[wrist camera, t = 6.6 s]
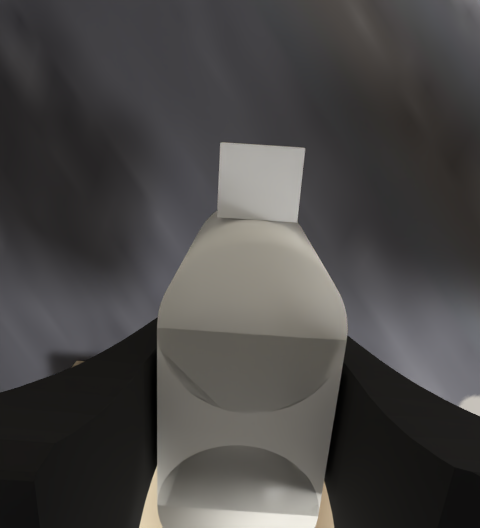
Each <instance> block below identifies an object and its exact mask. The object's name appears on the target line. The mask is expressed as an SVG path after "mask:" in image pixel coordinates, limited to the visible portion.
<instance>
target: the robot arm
mask: <svg viewBox="0 0 480 528" xmlns="http://www.w3.org/2000/svg"><path fill="white" fill-rule="evenodd" d="M157 321H158V318H156V319H155V320H153V321H151V322H150V323H148V324H147V325H145V326H144V327H143V328H141V329H139V330H138V331H136V332H135V333H133V334H132V335H130V336H129V337H127V338H126V339H124V340H122V341H121V342H119V343H117V344H116V345H114V346H112V347H110V348H109V349H107V350H105V351H103V352H102V353H100V354H98V355H96V356H94V357H92V358H90V359H88V360H86V361H84V362H82V363H80V364H78V365H76V366H73V367H71V368H69V369H67V370H64V371H62V372H60V373H57V374H55V375H52V376H49V377H46V378H43V379H41V380H38V381H35V382H32V383H29V384H26V385H24V386H21V387H18V388H15V389H11V390H8V391H4V392H1V393H0V528H139V526H140V522H141V518H142V513H143V509H144V505H145V501H146V498H147V494H148V491H149V488H150V484H151V481H152V478H153V475H154V473H155V470H156V467H157ZM324 482H325V485H326V489H327V493H328V497H329V502H330V506H331V511H332V516H333V522H334V528H480V416H478V415H476V414H473V413H471V412H468V411H467V410H464V409H462V408H460V407H458V406H456V405H454V404H452V403H450V402H448V401H446V400H444V399H442V398H440V397H438V396H437V395H435V394H433V393H431V392H429V391H428V390H426V389H424V388H422V387H420V386H419V385H417V384H415V383H414V382H412V381H410V380H409V379H407V378H406V377H404V376H403V375H401V374H400V373H398V372H396V371H395V370H393V369H392V368H390V367H389V366H388V365H386V364H385V363H383V362H382V361H380V360H379V359H378V358H376V357H375V356H374V355H372V354H371V353H370V352H368V351H367V350H366V349H364V348H363V347H362V346H360V345H359V344H358V343H356V342H355V341H354V340H353V339H351V338H350V337H349V336H347V342H346V348H345V354H344V360H343V366H342V373H341V379H340V385H339V391H338V397H337V403H336V410H335V416H334V422H333V428H332V434H331V441H330V447H329V453H328V459H327V465H326V471H325V478H324Z"/></svg>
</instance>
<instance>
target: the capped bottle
mask: <svg viewBox="0 0 480 528" xmlns="http://www.w3.org/2000/svg"><path fill="white" fill-rule="evenodd" d="M304 155H305V148H301V147H288V146H273V145H257V144H242V143H227V142H221V143H220V162H219V185H218V207H217V211H216V212H215V213H214V214H212V215H211V216H210V217H209V218H208V219H207V220H206V222H205V223H204V224H203V226H202V227H201V229H200V231H199V233H198V234H197V236H196V238H195V240H194V242H193V243H192V245H191V247H190V249H189V251H188V252H187V254H186V256H185V258H184V260H183V262H182V263H181V265H180V267H179V269H178V271H177V272H176V274H175V276H174V278H173V280H172V282H171V283H170V285H169V287H168V289H167V291H166V292H165V294H164V297H163V299H162V302H161V305H160V309H159V313H158V321H157V507H158V515H159V519H160V522H161V524H162V527H163V528H315V526H316V523H317V519H318V515H319V508H320V502H321V496H322V490H323V484H324V478H325V471H326V465H327V459H328V453H329V447H330V441H331V434H332V428H333V422H334V416H335V410H336V403H337V397H338V391H339V385H340V379H341V373H342V366H343V360H344V354H345V348H346V342H347V332H348V326H347V315H346V310H345V306H344V303H343V301H342V298H341V295H340V293H339V292H338V290H337V288H336V286H335V284H334V283H333V281H332V279H331V277H330V276H329V274H328V272H327V271H326V269H325V267H324V265H323V264H322V262H321V260H320V259H319V257H318V255H317V253H316V252H315V250H314V248H313V247H312V245H311V243H310V241H309V240H308V238H307V236H306V235H305V233H304V231H303V230H302V228H301V226H300V225H299V223H298V222H297V220H298V211H299V201H300V192H301V183H302V174H303V164H304Z"/></svg>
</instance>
